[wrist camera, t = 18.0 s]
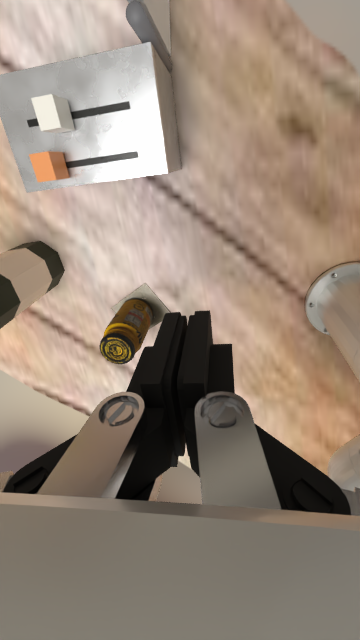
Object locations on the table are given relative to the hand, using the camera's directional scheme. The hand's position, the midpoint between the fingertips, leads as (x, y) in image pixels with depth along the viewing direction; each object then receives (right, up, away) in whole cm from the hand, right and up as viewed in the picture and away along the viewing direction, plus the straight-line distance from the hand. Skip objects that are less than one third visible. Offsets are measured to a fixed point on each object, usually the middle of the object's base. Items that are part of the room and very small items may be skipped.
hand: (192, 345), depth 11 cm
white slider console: (-9, +26, +27) cm, 39 cm away
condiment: (-7, +3, +40) cm, 41 cm away
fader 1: (-12, +21, +16) cm, 29 cm away
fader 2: (-13, +17, +19) cm, 29 cm away
